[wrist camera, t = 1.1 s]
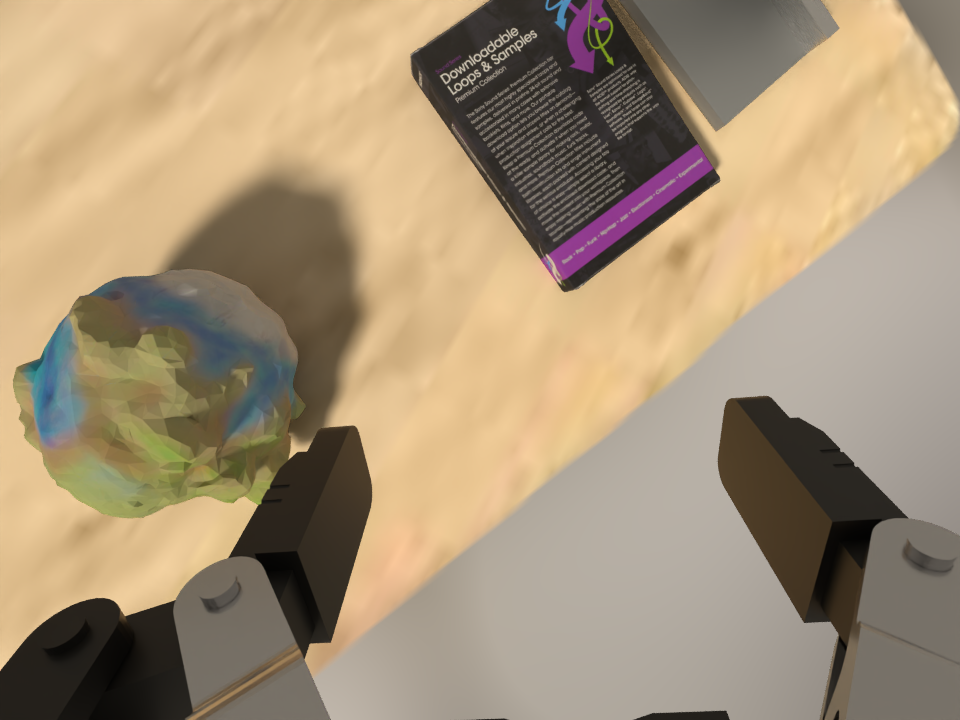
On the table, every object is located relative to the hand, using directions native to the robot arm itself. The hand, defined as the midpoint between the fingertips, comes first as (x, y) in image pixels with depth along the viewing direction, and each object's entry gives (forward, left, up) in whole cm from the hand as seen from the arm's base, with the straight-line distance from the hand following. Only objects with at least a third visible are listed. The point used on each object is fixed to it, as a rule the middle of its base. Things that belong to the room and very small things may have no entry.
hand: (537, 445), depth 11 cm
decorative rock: (-9, -14, -27) cm, 32 cm away
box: (-8, +18, -28) cm, 34 cm away
